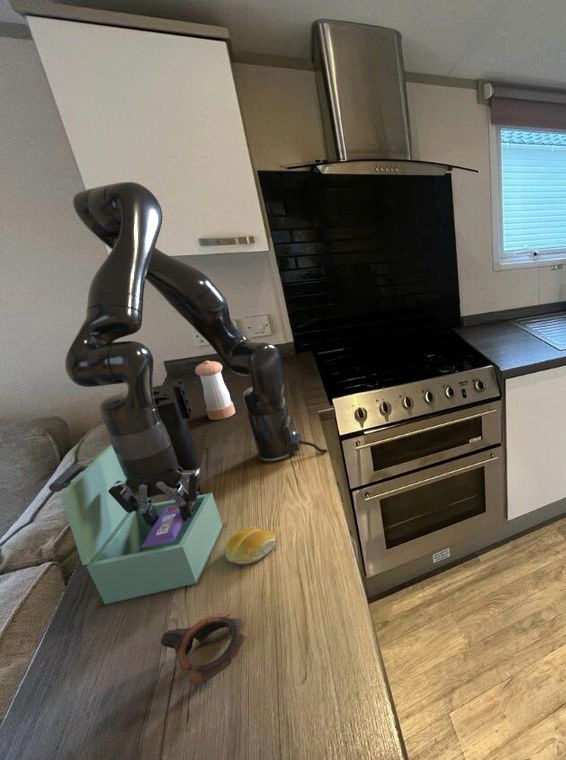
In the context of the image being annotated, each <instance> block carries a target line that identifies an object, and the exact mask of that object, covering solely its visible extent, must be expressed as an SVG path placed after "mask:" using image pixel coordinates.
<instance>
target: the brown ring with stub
mask: <svg viewBox="0 0 566 760" xmlns="http://www.w3.org/2000/svg"><path fill="white" fill-rule="evenodd" d="M230 616H231V614H230V613H228V612H220V613H214V614H211V615H208V616H205V617H204V618H202V619H200V620H199V621H198V622H196V623H195V624H194V625H192V626H191V627H187V628H186V627H185V628H175V629H169V630H166V631H165V632H164V633H163V635H162V636H161V638H160V644H161V646H163V647H166V648H170V649H172V650H173V649H174V652H175V653H176V654H177V660H178V661H177V662H178V664H179V667H180V668H181V671H182V672H183V673H184V674H186V675H187V676H188V681H187V682H188V683H190V684H191V685H197V686H199V685H202V684H203V683H204V682H208V681H209V680H211V679H212V678H214V677H215V676H217V675H218V674H220V673H221V672H223V671H224V670H225V669H226V668H228V667H229V666H230V665H231V664H232V663H233V659H235V658H236V657H237V655H238V653H239V651H240V649H241V647H242V645H243V644H244V642H246V640H247V639H248V637H247V636H245V635H244V634H243V633H241V632H239V631H240V630H241V628H242V625H243V623H244V621H243V620H242V619H241V618H240V617H236V618H235V617H230ZM225 628H228V629H229V630H230V633H231V636H230V642H229V644H228V646H227V648H226V649H225V651H224V652H223V653H222V654H221V655H220V656H219V657H217V658H216V659H215V660H213V661H211V662H209V663H206V664H202V665H198V666H197V668H195V667H194V666H193V665H192V663H191V662H190V661H189V659H188V657H187V656H188V655H189V653H190V651H191V650H192V648H193V644H194V640H196V641H197V642H198V643H199V644H202V643H203V642H204V641H205V640H206V639H207V638H208V637H209V636H210V635H212V634H213V633H215V632H216V631H219V630H221V629H225Z"/></svg>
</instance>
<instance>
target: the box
mask: <svg viewBox="0 0 566 760" xmlns="http://www.w3.org/2000/svg"><path fill="white" fill-rule="evenodd" d="M191 502H195V504H194V505H193V508H194V513H193V514H192V516H191V517H190V519H189V520H187V521H185V522H184V524H183V525H182V527H181V529H180V531H179V533H178V535H177V536H176V538H175V540H174V541H173V542H167V543H163V544H158V545H153V546H148V547H142V548H141V546H142V545H143V544H144V542H145V541H146V538H147V536H148V535H149V533H150V531H151V529H152V528H153V527H150V525H147V524H146V523H145V521H144V519H143V516H142V514H141V513H139V512H138V511H133V512H131V513H127V515H126V516H125V517H124V518H123V520H122V521H121V522H120V524H119V525H118V526H117V528H116V529H115V530H114V532H113V533H112V534H111V535H110V537H109V538H108V539H107V541H106V542H105V543H104V545H103V546H102V547H101V549H100V550H99V551H98V552H97V554H96V555H95V556H94V558H93V559H92V560H91V562H90V563H89V564H87V566H86V569H87V570H88V573H89V574H90V577H91V578H92V581H93V583H94V584H95V587H96V589H97V591H98V593H99V595H100V597H101V599H102V601H103V603H104V605H108V604H113V603H117V602H122V601H125V600H129V599H130V600H131V599H134V598H138V597H143V596H147V595H152V594H157V593H161V592H164V591H169V590H173V589H174V590H175V589H178V588H183V587H187V586H190V585H197V583H198V582H199V579H200V576H201V575H202V572H203V570H204V568H205V566H206V563H207V562H208V559H209V557H210V555H211V552H212V550H213V548H214V546H215V544H216V542H217V540H218V537H219V535H220V533H221V531H222V529H223V527H224V525H223V523H222V519H221V515H220V513H219V509H218V507H217V503H216V501H215V498H214V494H213V493H212V492H210V493H203V494H198V496H197V498H196V500H195V501H191ZM151 505H154V506H155V508H156V511H157V513H158V516H159V517H160V515H161V514H162V512H163V511H164V509H165V508H166V507H168V506H174V505H179V504H178V503H177V502H176V501H175V500H174V499H170V500H165V501H159V502H152V504H151Z"/></svg>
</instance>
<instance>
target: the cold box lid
mask: <svg viewBox="0 0 566 760" xmlns="http://www.w3.org/2000/svg"><path fill="white" fill-rule="evenodd" d="M125 480H126V477H125V476H124V474H123V471H122V469H121V466H120V464H119V462H118V459H117V457H116V454H115V452H114V450H113V447H112V444H111V443H110V445H109V446H107V448H106V449H104V451H102V452H101V454H99V456H97V457H96V458H95V459H94V460H93V461H92V462H91V463H90V464H89V465H82V464H80V463H73V464H71V465H70V466H69V467H67V469H65V470H64V471H63V472H62V473H61V474H60V475H59V476H58V477H56V478H55V480H53V482H52V483H50V484H49V486H48V490H49V492H53V493H60V494H59V495H60V498H61V499H60V500H61V502H62V505H63V508H64V511H65V514H66V517H67V520H68V523H69V526H70V530H71V532H72V533H71V534H72V536H73V539H74V542H75V545H76V548H77V549H76V550H77V552H78V554H79V559H80V562H81V565H82V566H86V565H87V566H88V564H89V563H90V562H91V561H92V559H93V558H94V557H95V555H96V554H97V553H98V551H99V550H100V549H101V548H102V546H103V545H104V544H105V542H106V541H107V540H108V538H109V537H110V536H111V534H112V533H113V532H114V531H115V529H116V528H117V527H118V525H119V524H120V523H121V521H122V520H123V519H124V517H125V516H126V515H127V514H128V512H126V511H125V510H124V509H123V508H122V506H121V505H120V504H119V503H118V502H117V501H116V500H115V499H114V498H113V497H112V495H111V494H110V493H109V492H108V491H109V489H110V488H111V487H112V486H113V485H114V484H115V482H116V481H122V482H123V481H125Z"/></svg>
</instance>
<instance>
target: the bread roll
mask: <svg viewBox="0 0 566 760" xmlns="http://www.w3.org/2000/svg"><path fill="white" fill-rule="evenodd" d="M276 540H277V536H276V534H275V533H274V532H273V531H272V530H266V529H265V530H264V529H262V528H260V527H256V526H251V527H246V528H243V529H241V530H239V531H237V532H236V533H235V534H233V535H232V536H231V537H230V538H229V540H228V541H226V544H225V550H224V555H225V558H226V559H227V561H228V562H230V563H232V564H238V565H249V564H253V563H256V562H258V561H260V560H261V559H263V558H264V557H265V556H267V555H268V554H269V553H270V552H271V551H273V550H274V548H275V547H276Z"/></svg>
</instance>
